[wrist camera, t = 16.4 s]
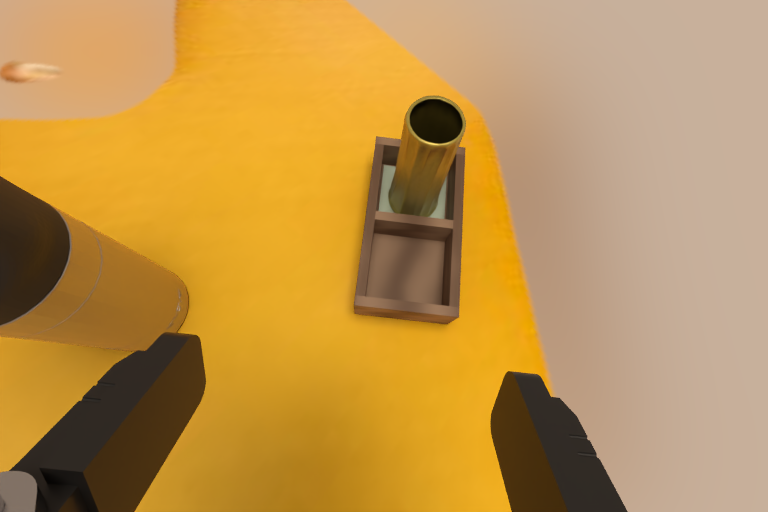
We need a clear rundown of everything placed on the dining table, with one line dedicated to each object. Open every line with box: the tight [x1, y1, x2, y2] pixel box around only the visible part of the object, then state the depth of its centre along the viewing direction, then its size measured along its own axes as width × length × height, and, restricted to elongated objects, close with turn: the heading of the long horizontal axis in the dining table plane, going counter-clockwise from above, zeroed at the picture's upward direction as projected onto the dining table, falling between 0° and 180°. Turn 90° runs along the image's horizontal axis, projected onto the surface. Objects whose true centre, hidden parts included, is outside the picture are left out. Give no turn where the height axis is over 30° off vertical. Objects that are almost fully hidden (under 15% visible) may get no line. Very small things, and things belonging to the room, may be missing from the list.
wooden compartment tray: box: [354, 136, 465, 324], centre depth 42 cm, size 10×20×5 cm, turn 174°
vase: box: [388, 96, 466, 217], centre depth 37 cm, size 6×6×14 cm
